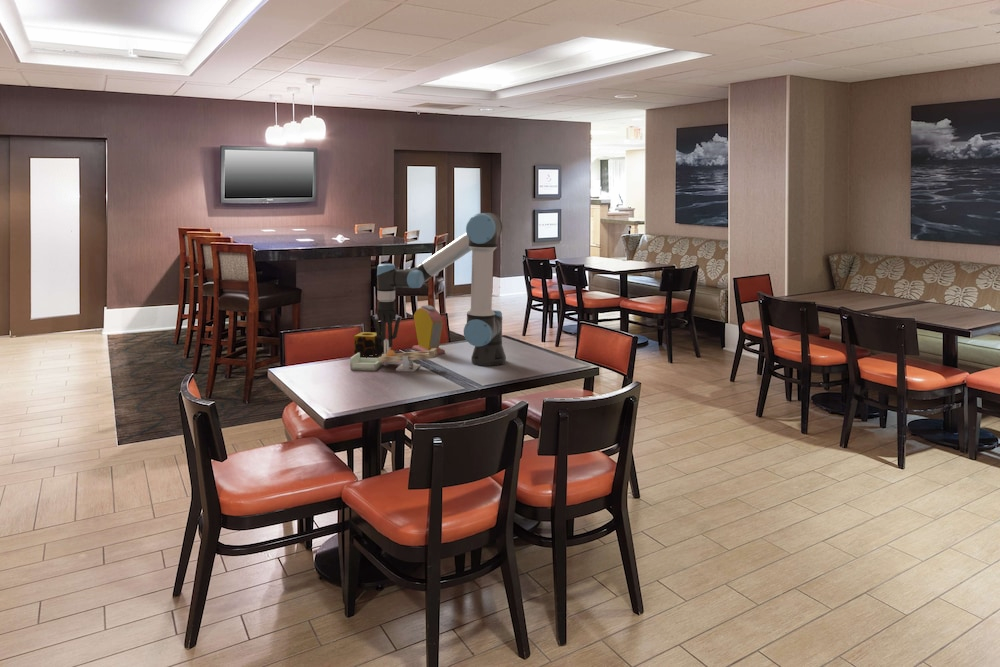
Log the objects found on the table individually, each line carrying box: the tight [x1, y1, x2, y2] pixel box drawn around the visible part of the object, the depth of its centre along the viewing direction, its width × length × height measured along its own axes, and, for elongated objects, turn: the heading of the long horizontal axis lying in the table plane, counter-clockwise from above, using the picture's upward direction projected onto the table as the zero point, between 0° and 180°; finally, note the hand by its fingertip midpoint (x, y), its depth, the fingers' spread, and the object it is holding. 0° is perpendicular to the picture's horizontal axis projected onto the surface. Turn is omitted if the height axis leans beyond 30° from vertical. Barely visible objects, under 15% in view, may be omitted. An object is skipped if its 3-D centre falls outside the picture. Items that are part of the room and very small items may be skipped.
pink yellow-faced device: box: [411, 305, 446, 356], centre depth 346 cm, size 22×9×22 cm, turn 30°
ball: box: [387, 349, 396, 356], centre depth 315 cm, size 4×4×4 cm
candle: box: [353, 331, 384, 358], centre depth 339 cm, size 10×10×10 cm
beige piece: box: [377, 348, 438, 363], centre depth 317 cm, size 25×13×4 cm, turn 82°
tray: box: [349, 353, 384, 371], centre depth 317 cm, size 11×11×5 cm
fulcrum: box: [395, 356, 421, 373], centre depth 314 cm, size 8×10×6 cm
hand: (387, 354), depth 322 cm, fingers closed
